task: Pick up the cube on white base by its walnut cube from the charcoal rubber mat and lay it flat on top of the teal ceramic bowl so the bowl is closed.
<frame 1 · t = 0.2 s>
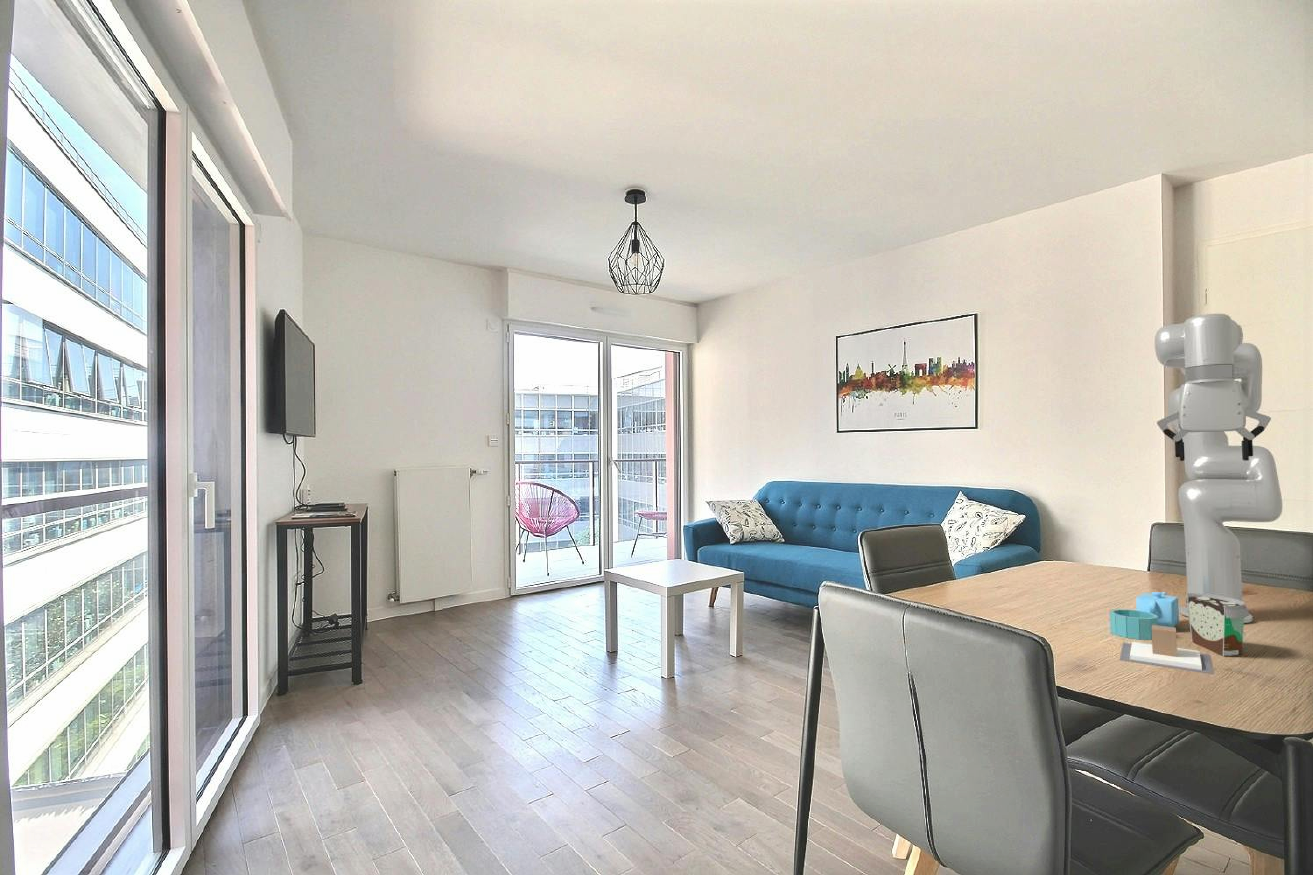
hand: (1213, 460, 128), 36 cm above the table, tool pointing down, fingers open, 9 cm apart
bowl: (1134, 636, 132), on the table
food container: (1225, 653, 121), on the table
cube on white base: (1164, 657, 117), resting on mat
teapot: (1159, 627, 140), on the table
mat: (1165, 659, 117), on the table
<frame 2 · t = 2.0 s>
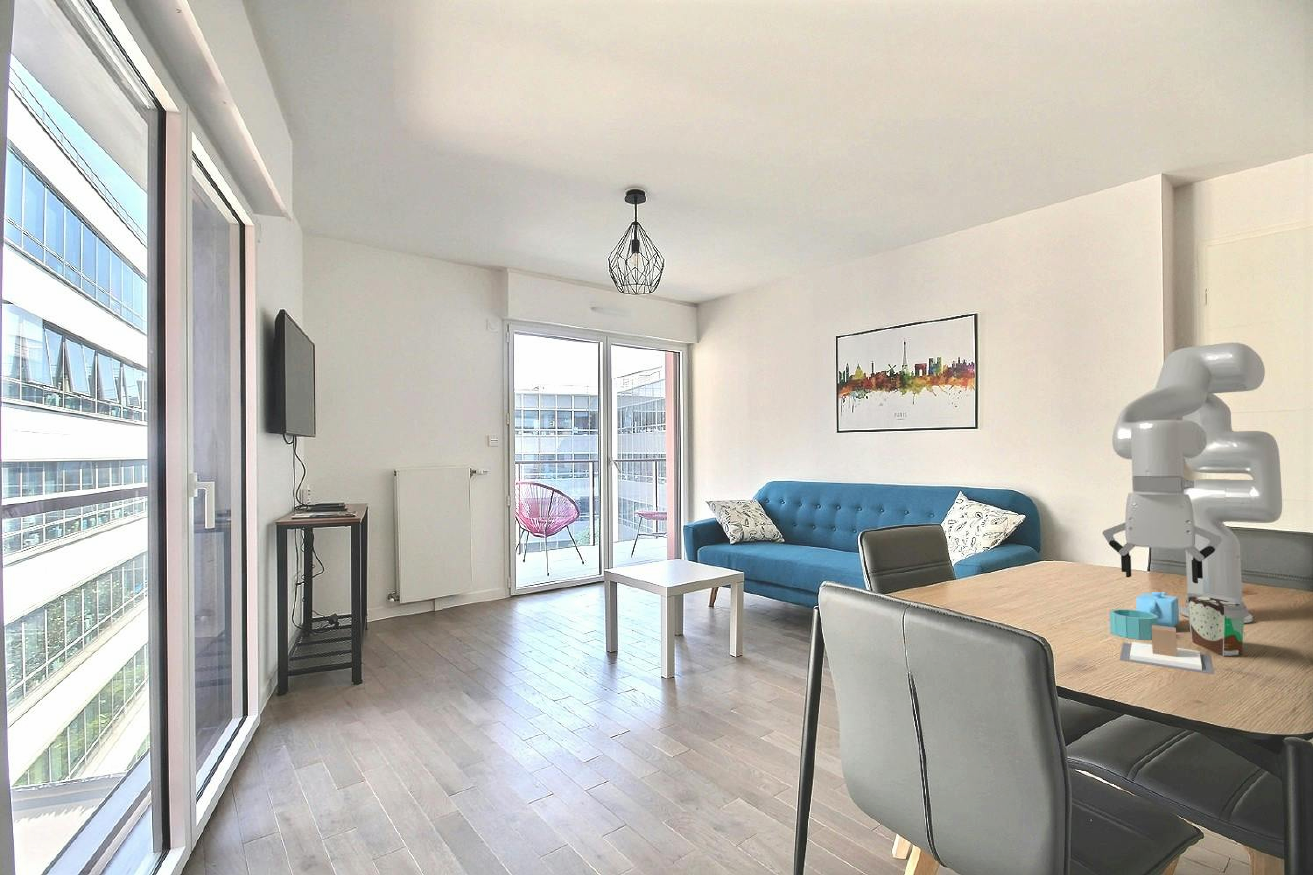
hand: (1161, 579, 117), 15 cm above the table, tool pointing down, fingers open, 9 cm apart
nothing on the table moved.
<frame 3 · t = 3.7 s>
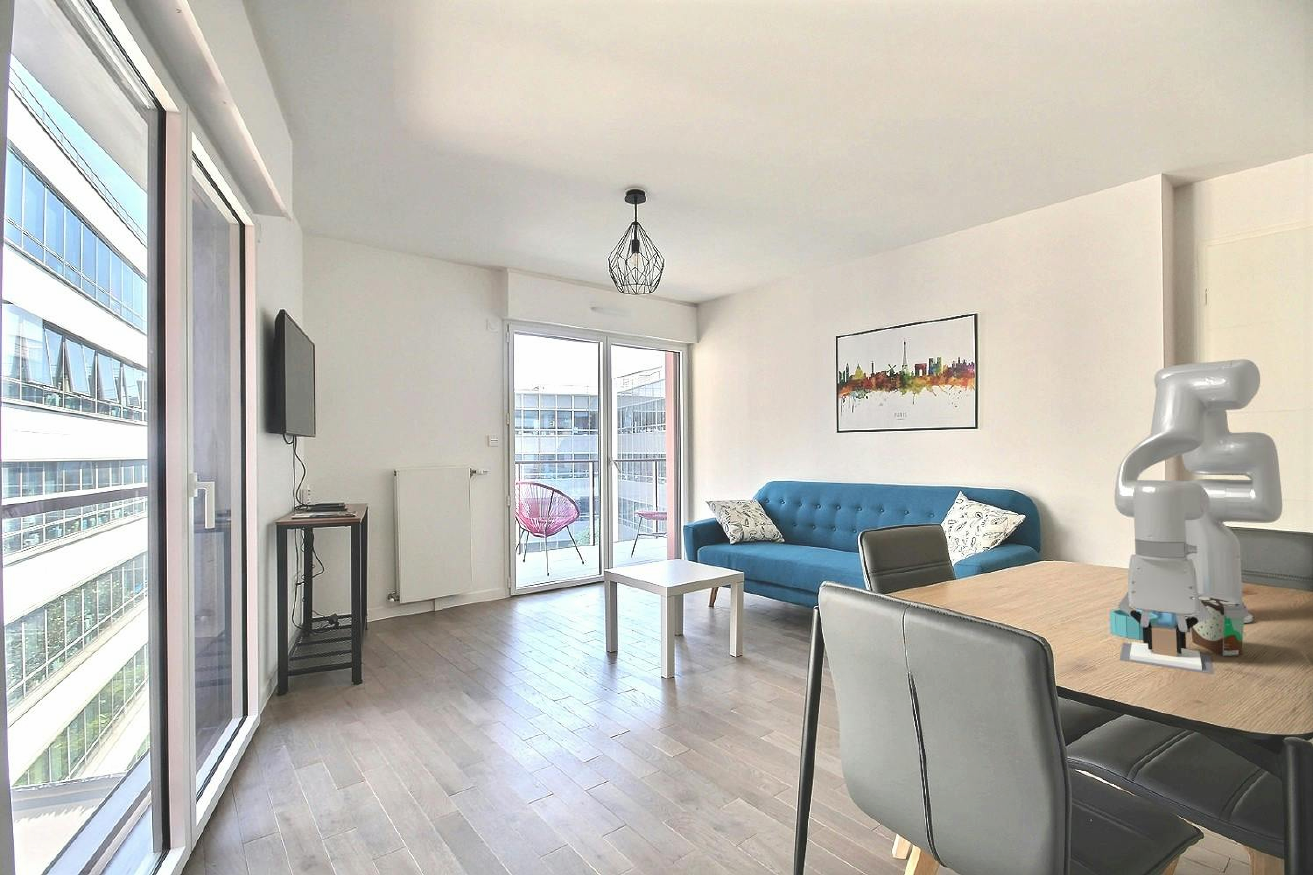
hand: (1164, 648, 117), 2 cm above the table, tool pointing down, fingers closed on cube on white base, 3 cm apart
cube on white base: (1164, 657, 117), point 1 cm above the table, touching gripper, mat
everything else where it was.
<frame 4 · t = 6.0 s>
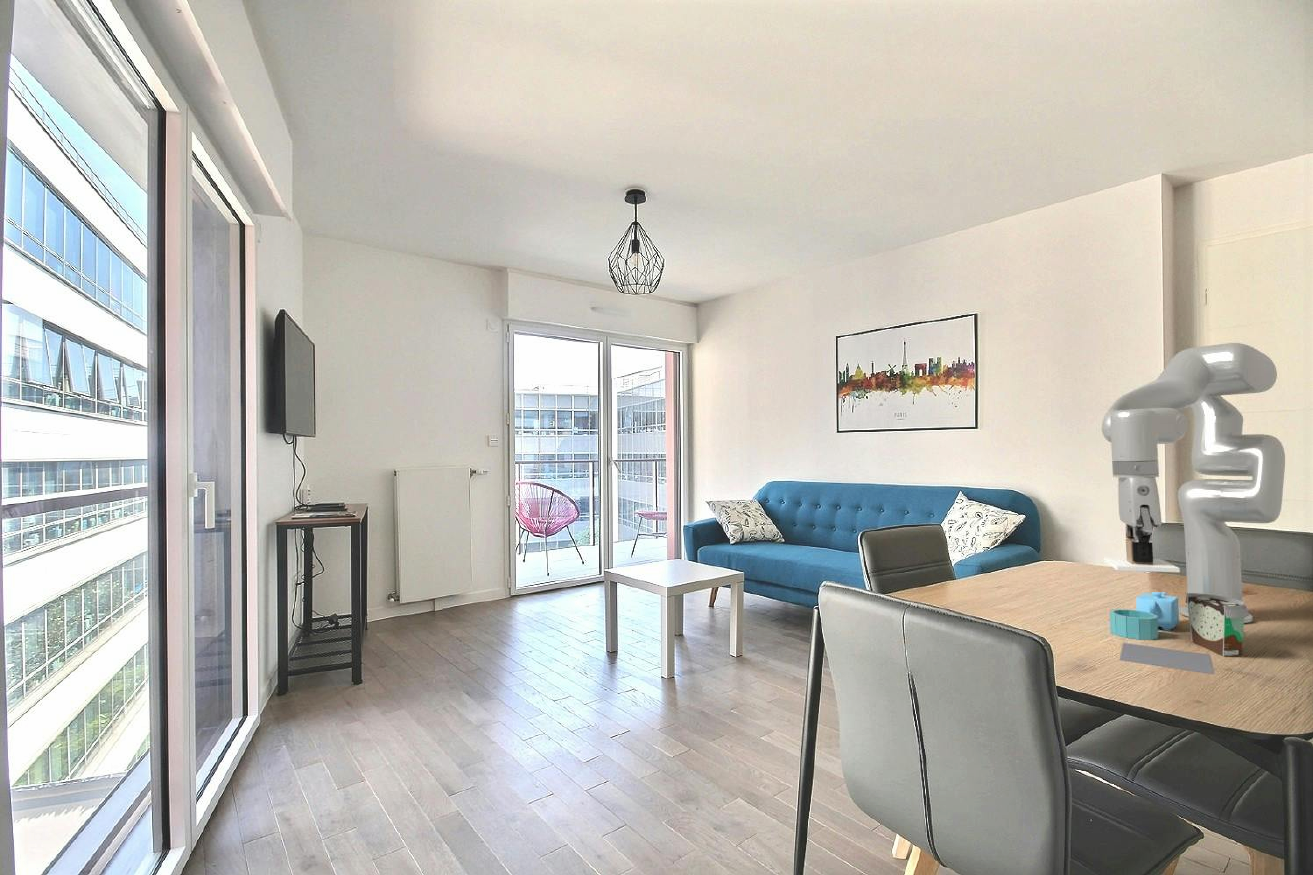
hand: (1139, 559, 129), 17 cm above the table, tool pointing down, fingers closed on cube on white base, 3 cm apart
cube on white base: (1139, 566, 128), point 15 cm above the table, touching gripper
everything else where it was.
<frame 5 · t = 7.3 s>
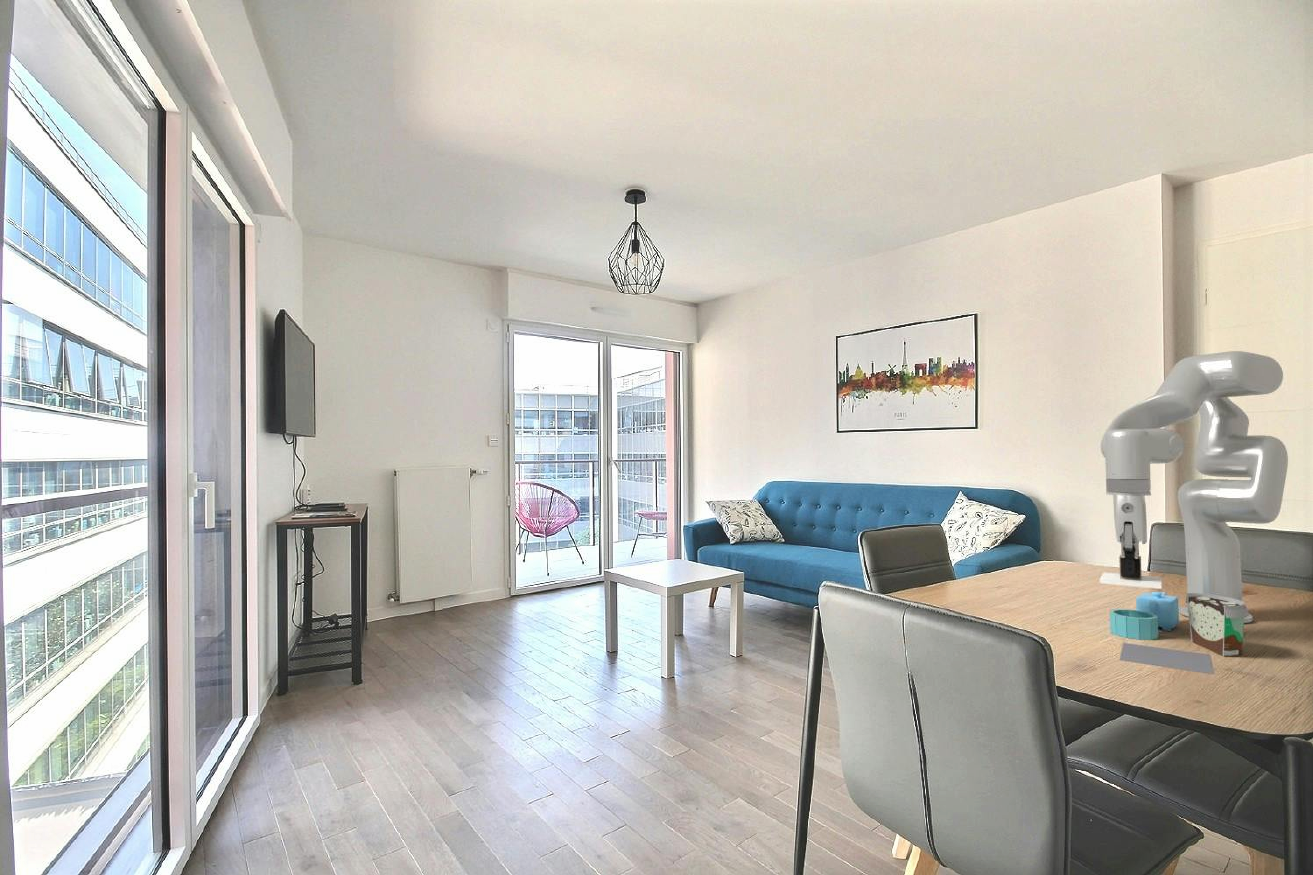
hand: (1131, 575, 132), 13 cm above the table, tool pointing down, fingers closed on cube on white base, 3 cm apart
cube on white base: (1131, 582, 132), point 11 cm above the table, touching gripper
everything else where it was.
when the fingers open (7 cm above the table, at t = 8.5 s): cube on white base drops 1 cm, resting on bowl.
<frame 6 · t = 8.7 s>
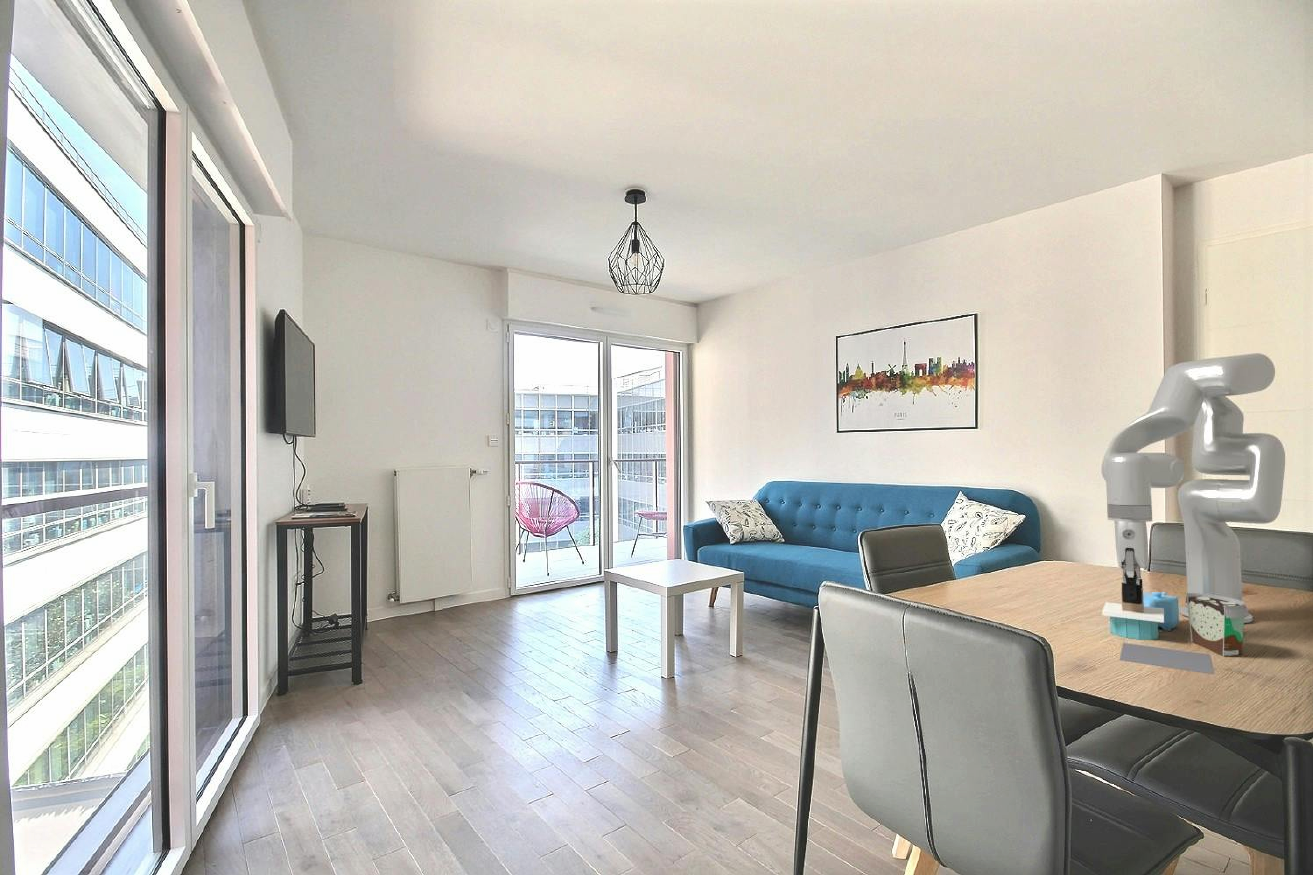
hand: (1132, 599, 132), 8 cm above the table, tool pointing down, fingers open, 5 cm apart
cube on white base: (1133, 613, 132), point 5 cm above the table, touching bowl
everything else where it was.
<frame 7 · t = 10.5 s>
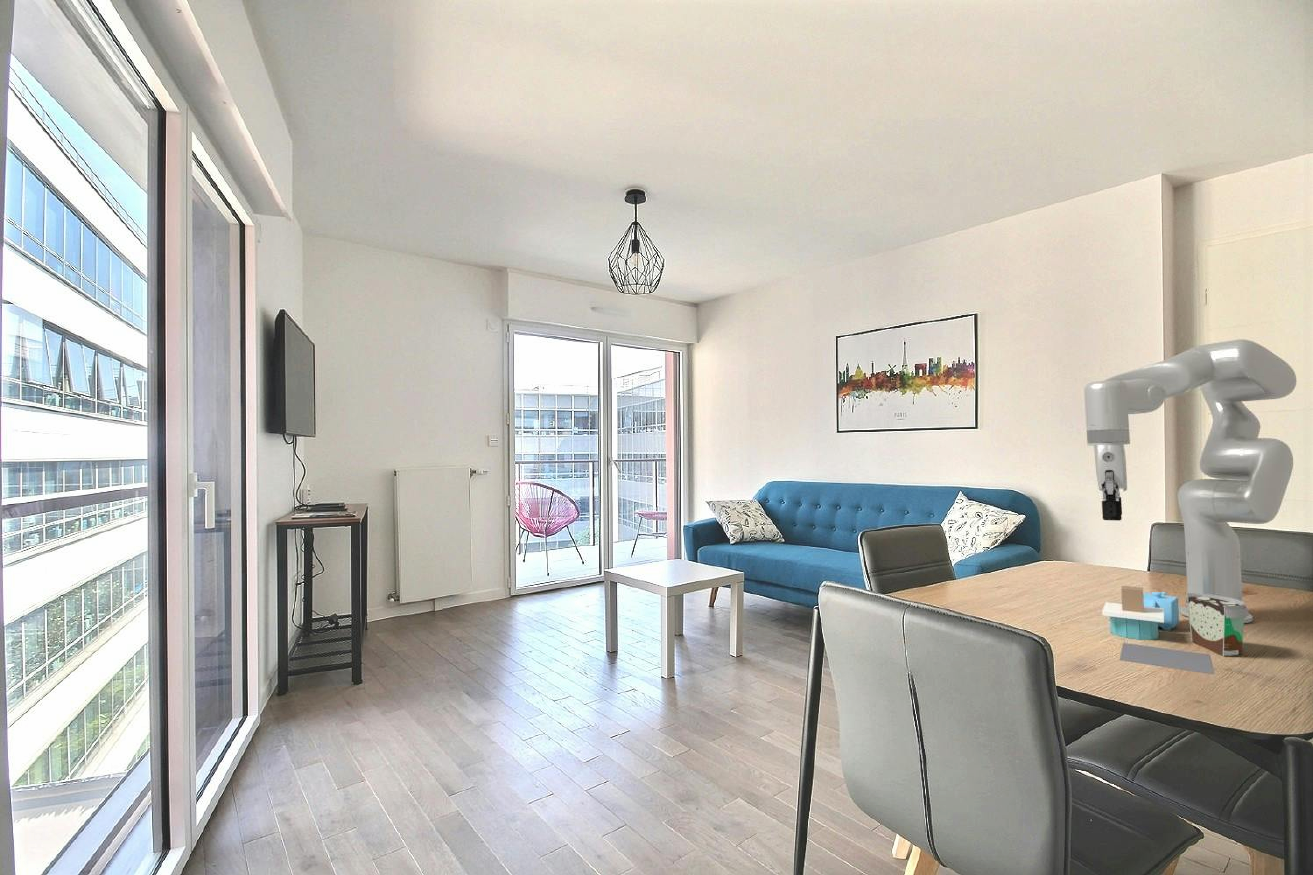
hand: (1112, 517, 136), 24 cm above the table, tool pointing down, fingers open, 9 cm apart
nothing on the table moved.
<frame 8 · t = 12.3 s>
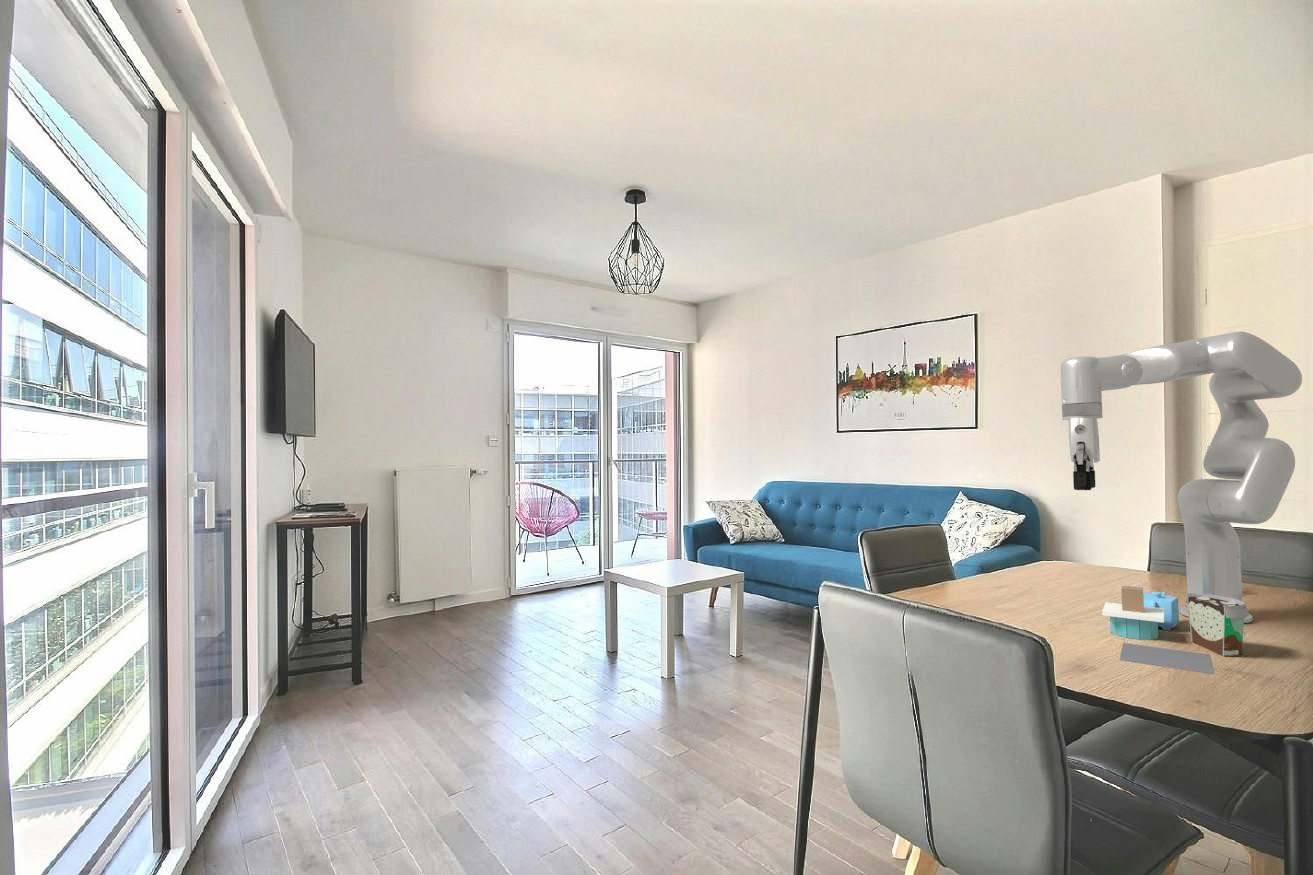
hand: (1084, 488, 142), 30 cm above the table, tool pointing down, fingers open, 9 cm apart
nothing on the table moved.
at the end: cube on white base 0.0 cm off-centre on the bowl, point 4.7 cm above the bowl's base; cube on white base tilted 0°; the gripper is holding nothing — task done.
